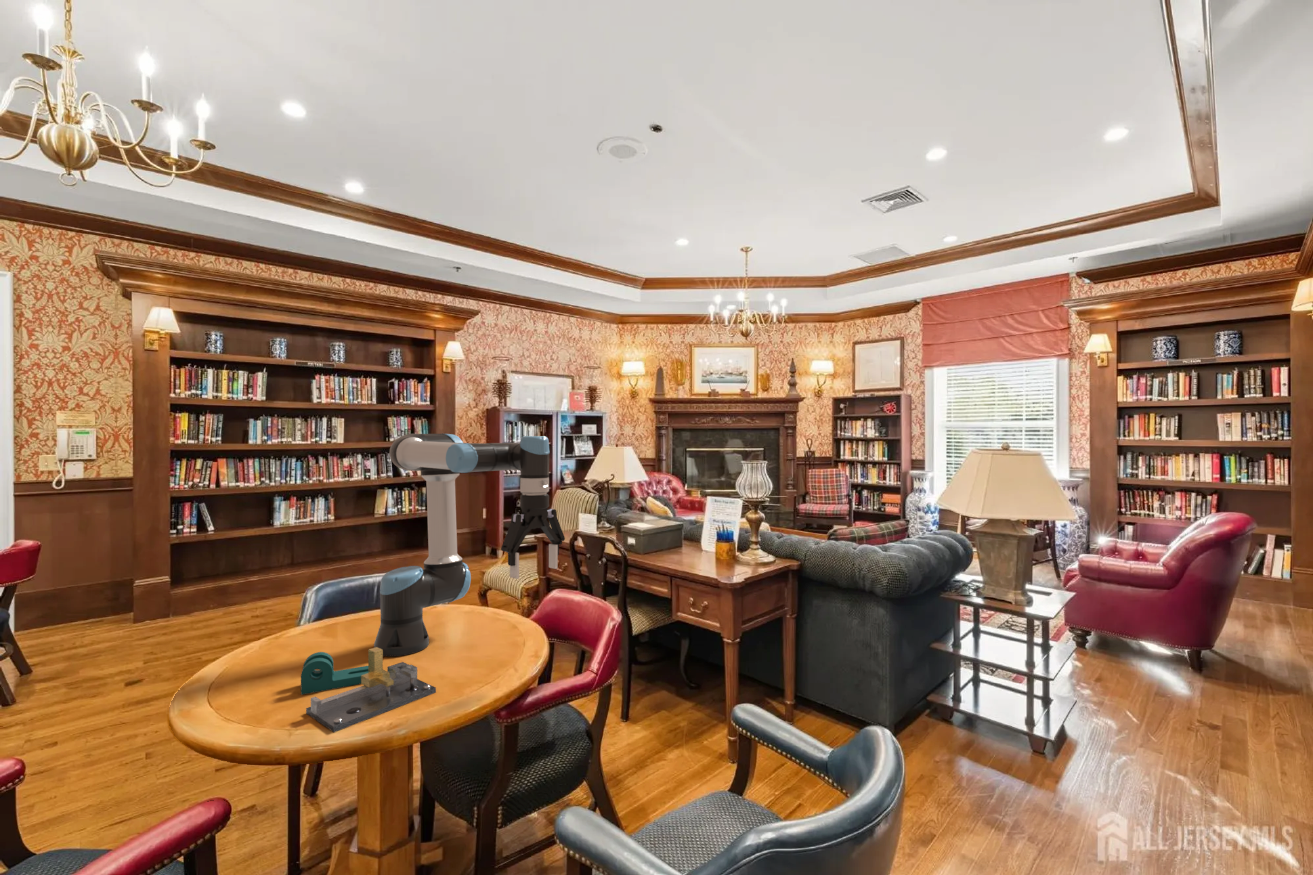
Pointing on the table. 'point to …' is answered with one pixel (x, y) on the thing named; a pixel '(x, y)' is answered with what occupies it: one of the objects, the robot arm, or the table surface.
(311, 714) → the bolt plate
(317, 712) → the grey long bar piece
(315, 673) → the bracket
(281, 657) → the table surface
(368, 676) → the sliding leg
